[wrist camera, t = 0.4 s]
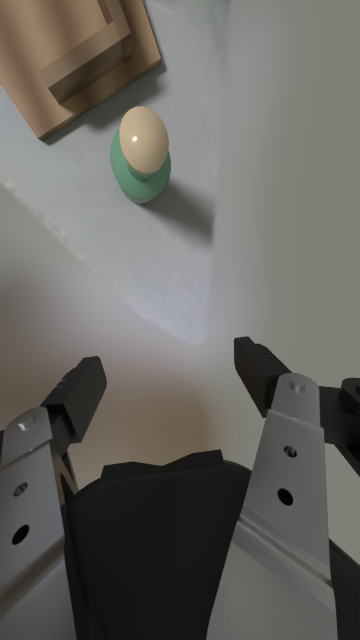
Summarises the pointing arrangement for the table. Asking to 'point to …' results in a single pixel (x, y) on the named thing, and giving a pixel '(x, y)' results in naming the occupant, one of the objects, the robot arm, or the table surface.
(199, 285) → the table surface
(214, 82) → the table surface
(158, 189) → the bottle
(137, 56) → the bottle rest
